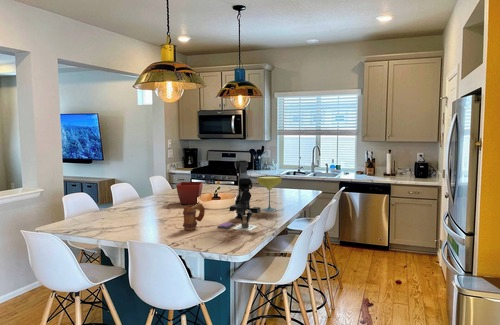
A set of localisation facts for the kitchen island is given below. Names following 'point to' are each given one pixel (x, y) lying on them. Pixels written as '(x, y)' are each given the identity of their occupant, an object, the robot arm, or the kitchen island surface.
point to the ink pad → (226, 225)
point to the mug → (192, 216)
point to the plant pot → (189, 192)
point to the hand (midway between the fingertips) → (245, 223)
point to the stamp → (245, 222)
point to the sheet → (245, 228)
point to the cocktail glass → (269, 185)
